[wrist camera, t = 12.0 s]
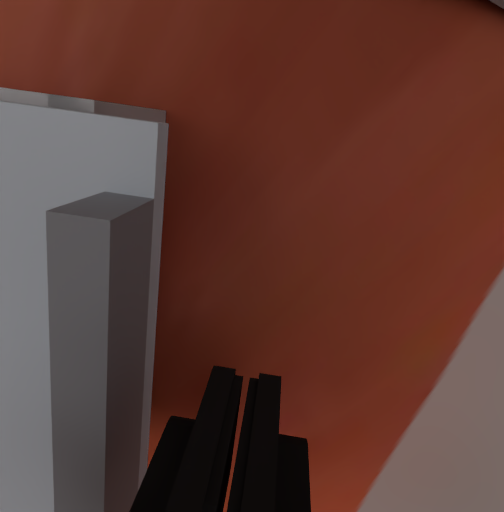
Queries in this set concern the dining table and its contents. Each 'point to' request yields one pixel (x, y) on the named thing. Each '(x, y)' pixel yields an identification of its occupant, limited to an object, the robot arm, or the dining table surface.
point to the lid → (77, 305)
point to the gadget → (498, 3)
